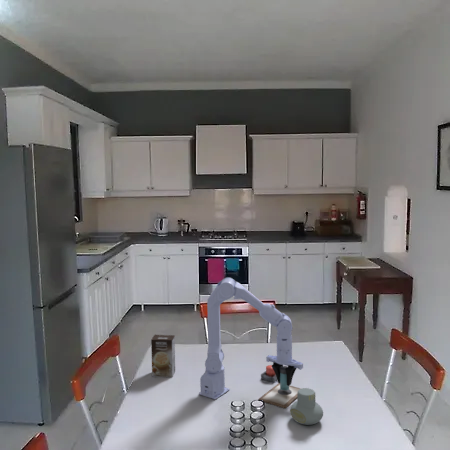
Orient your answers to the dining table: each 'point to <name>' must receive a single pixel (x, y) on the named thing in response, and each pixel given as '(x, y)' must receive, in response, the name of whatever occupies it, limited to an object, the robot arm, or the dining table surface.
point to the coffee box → (163, 355)
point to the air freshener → (306, 408)
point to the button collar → (268, 377)
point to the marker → (283, 378)
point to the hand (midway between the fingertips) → (284, 383)
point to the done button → (270, 371)
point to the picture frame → (280, 396)
